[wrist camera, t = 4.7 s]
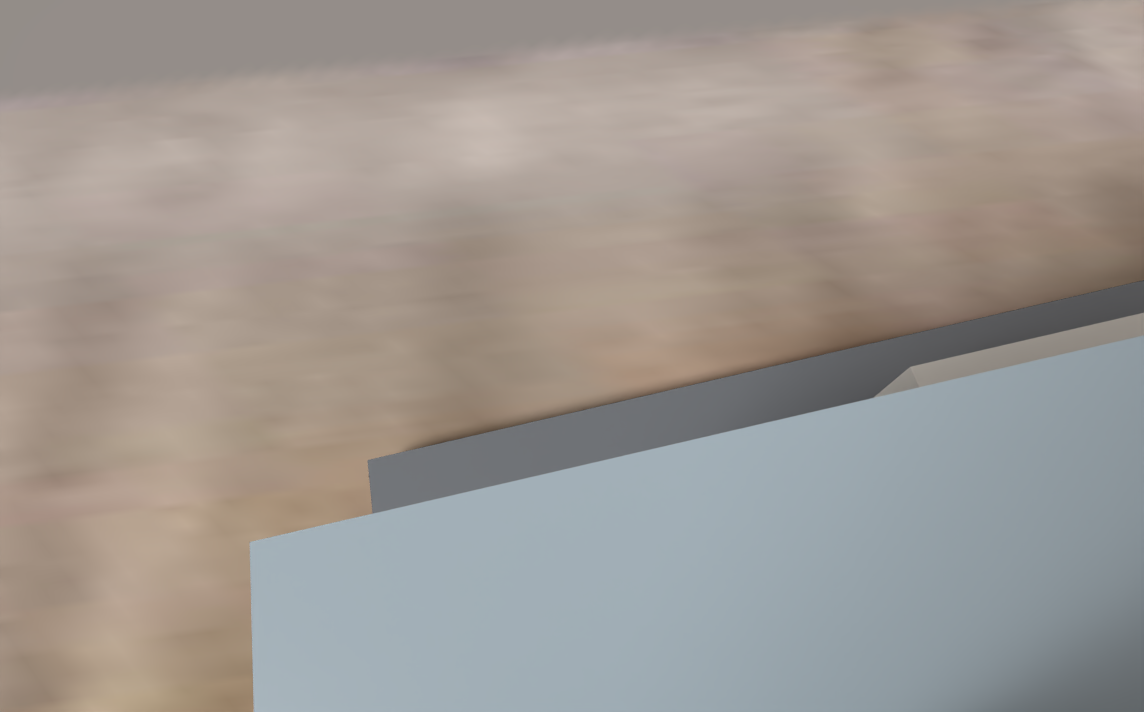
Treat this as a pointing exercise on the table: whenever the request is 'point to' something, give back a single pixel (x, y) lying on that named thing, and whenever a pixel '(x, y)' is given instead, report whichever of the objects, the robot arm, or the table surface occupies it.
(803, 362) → the board
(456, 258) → the table surface
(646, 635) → the plug
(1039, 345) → the socket
